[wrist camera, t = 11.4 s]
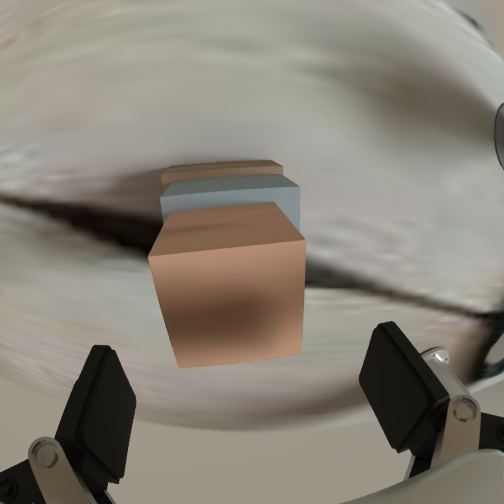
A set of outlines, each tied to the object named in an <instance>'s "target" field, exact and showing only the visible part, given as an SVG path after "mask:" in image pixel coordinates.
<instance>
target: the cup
mask: <svg viewBox="0 0 504 504" xmlns="http://www.w3.org/2000/svg"><path fill="white" fill-rule="evenodd" d="M495 143H496V152H497V155H498V158H499V161H500V164H501V165H502V167H503V168H504V104H503V105H502V106H501V107H500V109H499V110H498V113H497V117H496V121H495Z"/></svg>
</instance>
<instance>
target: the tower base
mask: <svg viewBox="0 0 504 504" xmlns="http://www.w3.org/2000/svg"><path fill="white" fill-rule="evenodd" d="M270 174H281V175H283V166H282V165H280V164H278V163H276V162H274V161H272V160H258V161H234V162H218V163H204V164H192V165H181V166H171V167H169V168H168V169H167V170H165V171H164V172H163V173H162V174H161V182H162V192H163V193H164V192H165V190H166V189H167V188H168V187H169V186H170V184H171V183H172V182H178V181H187V180H198V179H209V178H221V177H234V176H250V175H270Z"/></svg>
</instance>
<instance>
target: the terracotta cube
mask: <svg viewBox="0 0 504 504" xmlns="http://www.w3.org/2000/svg"><path fill="white" fill-rule="evenodd" d="M305 255H306V240H305V238H304V237H303V236H302V235H301V233H300V232H299V231H298V230H297V229H296V227H295V226H294V225H293V224H292V222H291V221H290V220H289V219H288V218H287V216H286V215H285V214H284V213H283V212H282V210H281V209H280V208H279V207H278V206H277V204H276V203H275V202H267V203H255V204H244V205H234V206H224V207H214V208H205V209H196V210H188V211H179V212H171V213H170V214H169V216H168V217H167V219H166V221H165V223H164V225H163V227H162V229H161V231H160V233H159V235H158V237H157V239H156V241H155V243H154V245H153V247H152V249H151V251H150V253H149V256H148V260H149V264H150V268H151V273H152V277H153V281H154V285H155V289H156V293H157V296H158V300H159V304H160V308H161V311H162V315H163V318H164V322H165V325H166V329H167V332H168V335H169V339H170V342H171V345H172V348H173V351H174V354H175V357H176V360H177V363H178V366H179V368H190V367H204V366H215V365H225V364H235V363H243V362H251V361H259V360H266V359H273V358H279V357H286V356H292V355H297V354H301V347H302V331H303V312H304V289H305Z"/></svg>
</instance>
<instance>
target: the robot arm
mask: <svg viewBox="0 0 504 504" xmlns="http://www.w3.org/2000/svg"><path fill="white" fill-rule="evenodd" d="M448 361H449V353H448V352H447V350H446V349H444V348H441V347H440V348H435V349H432V350H429V351H427V352H426V353H424V354H422V355H420V354H419V352H418V351H417V350H416V349H415V347H414V346H413V345H412V344H411V342H410V341H409V340H408V338H407V337H406V336H405V335H404V333H403V332H402V331H401V330H400V328H399V327H398V326H397V325H396V323H394V322H393V321H390V322H385V323H380V324H378V325H377V327H376V328H375V329H374V330H373V333H372V336H371V340H370V343H369V347H368V350H367V353H366V356H365V360H364V363H363V366H362V369H361V372H360V375H359V383H360V385H361V387H362V389H363V391H364V393H365V395H366V397H367V399H368V401H369V403H370V405H371V407H372V409H373V411H374V413H375V415H376V417H377V419H378V421H379V423H380V425H381V427H382V429H383V431H384V433H385V435H386V438H387V440H388V442H389V444H390V445H391V447H392V448H393V449H396V451H397V452H398V453H401V452H404V451H406V450H408V449H410V451H411V453H412V456H411V459H410V462H409V465H408V469H407V471H406V474H405V477H404V480H403V482H400V483H398V484H395V485H393V486H390V487H388V488H385V489H383V490H380V491H378V492H375V493H372V494H369V495H366V496H364V497H360V498H357V499H354V500H351V501H348V502H344V503H341V504H504V417H499V416H495V415H491V414H487V413H484V412H483V411H482V410H481V408H480V406H479V404H478V402H477V401H476V400H475V399H474V398H473V397H472V396H471V395H470V393H469V392H468V390H467V389H466V388H465V387H464V385H463V384H462V383H461V381H460V380H459V379H458V377H457V376H456V375H455V374H454V372H453V371H452V370H451V369H450V367H449V366H448V365H447V364H448ZM135 408H136V396H135V394H134V392H133V390H132V388H131V386H130V383H129V381H128V379H127V377H126V375H125V372H124V370H123V368H122V366H121V363H120V361H119V358H118V356H117V354H116V351H115V350H112V349H111V347H110V346H108V345H94V346H93V347H92V349H91V351H90V353H89V355H88V358H87V360H86V362H85V364H84V367H83V369H82V371H81V374H80V376H79V378H78V380H77V381H76V382H75V384H74V387H73V389H72V392H71V394H70V397H69V399H68V402H67V404H66V407H65V409H64V412H63V415H62V418H61V420H60V423H59V426H58V429H57V432H56V435H55V438H54V439H53V438H51V437H40V438H38V439H36V440H35V441H34V442H33V443H32V444H31V445H30V448H29V450H28V458H29V459H27V460H25V461H23V462H21V463H19V464H17V465H15V466H13V467H11V468H9V469H6V470H4V471H2V472H0V504H116V503H115V501H114V500H113V498H112V497H111V495H110V494H109V492H108V491H107V486H108V482H111V483H115V484H119V479H120V478H123V476H124V472H125V465H126V458H127V452H128V446H129V439H130V434H131V429H132V423H133V418H134V413H135Z"/></svg>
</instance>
